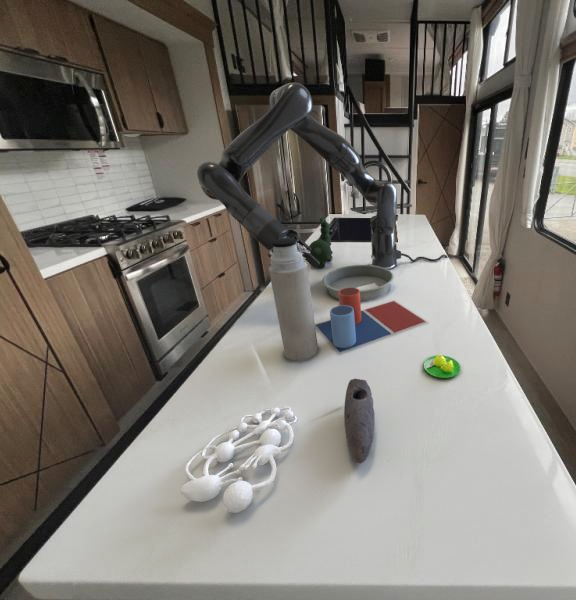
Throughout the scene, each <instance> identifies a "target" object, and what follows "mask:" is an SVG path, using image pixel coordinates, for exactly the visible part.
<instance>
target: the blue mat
mask: <svg viewBox="0 0 576 600" xmlns="http://www.w3.org/2000/svg"><path fill="white" fill-rule="evenodd" d="M315 327H317V329H318V330H319V331H320V332H321V333H322V334H323V336H324V337H325V338H326V339H327V340H328V341H329V342H330V344H332V345H333V346H334V347H335V349H336V350H337V351H338V352H339V353H343V352H344V351H347V350H350V349H354V348H356V347H359V346H362V345H365V344H368V343H371V342H374V341H375V340H378V339H381V338H385V337H387V336H390V335H392V333H391V331H389V330H388V329H386V328H385V326H384V327H383V325H381V323H379V322H378V321H376V320H375V319H374V318H373V317H371V316H370V315H368V314H367V313H366V312H365V311H364V310H361V322H360V323H358V324H356V325H355V332H356V343H355V344H354V345H353V346H351V347H348V348H338V347H336V346H335V345H334V344H333V336H332V327H331V319H330V320H327V321H324V322H320V323H317V324H315Z"/></svg>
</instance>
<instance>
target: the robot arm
mask: <svg viewBox="0 0 576 600" xmlns="http://www.w3.org/2000/svg"><path fill="white" fill-rule="evenodd" d="M268 102H269V108H270V109H269V110H268V111H267V112H266V113H265V114H264V115H263V116H262V117H260V118H258V119H257V120H256V121H255V122H254V123H252V124H251V125H249V126H248V127H247V128H245V129H244V130H243V131H242V132H240V133H239V134H238V135H237V136H236V137H235V138H234V139H233V140H232V141H231V142H229V144H227V146H226V147H225V148H224V149H223V150H222V153H221V159H220V161H219V162H218V163H217V162H214V161H204V162H202V163H201V164H199V166H198V167H197V169H196V179H197V181H198V184H199V185H200V188H201V190H202V191H203V193H204V195H206V197H208V198H209V199H211V200H215V201H219V202H220V203H221V204H222V205H223V206H224V208H225V209H226V211H227V212H228V214H230V216H232V217H233V218H234V219H235V221H237V222H238V223H239V224H240V225H241V226H242V227H243V228H244V229H245V230H246V231H247V233H249V234H250V236H252V237H253V238H254V239H255V240H256V241H257V242H258V243H259V244H261V246H263V247H264V248H265V249H266V250H267V251H269V252H268V254H267V256H268V257H269V258H270V257H271V256H272V255H273V254H274V251H273V246H272V241H274V240H276V239H281V238H290V237H289V236H288V235H287V234H288V230H289V229H288V228H287V227H286V226H285V225H283V223H281V222H280V221H279V219H278V218H276V217H275V216H274V215H273V214H272V213H270V212H269V211H268V210H267V209H265V208H264V207H263V206H262V205H261V204H260V203H258V201H257V200H256V199H254V198H253V197H252V196H251V195H250V194H248V192H246V190H245V189H244V188H243V186H242V185H241V184H240V182H241V181H242V179H243V178H244V175H245V174H246V173H247V171H249V170H250V169H251V168H252V167H253V166H254V165H255V164H256V163H257V162H258V161H259V160H260V158H261V157H262V156H263V155H264V154H265V153H266V152H267V151H268V150H269V149H270V148H271V147H272V146H273V145H274V144H275V143H276V142H277V141H278V140H279V139H280V138H281V137H282V136H283V135H284V134H286V133H287V132H288V131H289V130H290V131H292V132H293V133H294V134H296V135H297V136H298V137H299V138H301V139H302V140H303V141H305V143H306V144H308V146H310V147H311V148H312V149H313V150H314V151H315V152H316V153H317V154H318V155H319V156H321V158H323V159H324V161H325V162H327V163H328V165H329V166H330V167H332V168H333V169H334V170H335V171H336V172H337V173H339V174H340V175H341V176H342V177H343V178H344V179H345V180H346V181H347V182H349V183H350V184H351V185H352V186H353V187H354V188H355V189H356V190H357V191H358V192H359V194H360V195H361V196H362V197H363V198H364V199H365V201H367V203H369V204H370V205H372V206H374V207H376V214H375V215H373V216H371V217H370V243H371V255H370V258H371V265H373V266H379V267H383V268H386V269H388V270H392V269H395V267H397V266H398V265H397V264H398V263H397V262H398V261H397V260H400V259H402V256H403V257H405V258H408V260H410V261H411V262H412V263H416V262H417V261H418V260H426V261H429V262H438V261H440V260H441V259H442V258H448V255H447V254H444V253H443V254H441V255H440V256H439V257H438V258H429V257H426V256H417V257H416V258H415V259H413V258H412V257H411V256H410V255H409V254H406V253H402V251H401V250H398V248H397V247H398V246H397V243H396V242H395V221H396V217H397V207H398V203H397V202H398V194H397V193H398V192H397V188H396V185H395V184H394V183H393V182H391V181H387V180H386V181H385V180H378V179H376V178H375V177H374V176H372V175H371V174H370V173H369V172H368V171H367V170H366V169H365V167H364V165H363V162H362V159H361V156H360V154H359V152H358V151H357V150H356V148H354V147H353V146H352V144H351V143H350V142H349V141H348V140H347V139H346V138H344V137H343V136H342V135H341V134H339V133H338V132H336V131H334V130H333V129H330V128H329V127H327V126H325V125H323V124H321V123H320V122H319V121H317V120H316V119H315V118H314V117H313V116H312V115H311V113H312V111H313V97H312V95H311V92H310V91H309V90H308V88H307V87H306V86H304V84H301V83H299V82H289V83H285V84H284V85H281V86H279V87H277V88H276V89H274V90H273V91H272V92H271V93H270V95H269V101H268ZM297 235H298V234H297ZM297 235H295V236H294V237H293V239H296V246H297V251H298V252H300V253H301V254H302V256H303V260H305V262H306V263H308V264H309V265H310V266H311V267H312V268H313V269H316V268H318V267H317V266H318V265H319V264H320V263H319V261H318V260H316V259H315V258H314V257H313V256H312V255H311V254H310V253H311V252H310V250H311V248H310V247H309V245H308V243H306V242H305V241H304V240H303V239H301V237H300V236H297ZM298 243H299V244H298Z"/></svg>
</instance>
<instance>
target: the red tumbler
mask: <svg viewBox="0 0 576 600" xmlns="http://www.w3.org/2000/svg"><path fill="white" fill-rule="evenodd" d="M338 303H339V306H340V305H347V306H351V307H353V309H354V318H355V325H356V324H358V323H360V322H361V311H362V307H361V306H362V305H361V304H362V303H361V301H360V289H359V288H358V287H357V288H352V287H350V288H344V289H341V290H340V291H339V299H338Z"/></svg>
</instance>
